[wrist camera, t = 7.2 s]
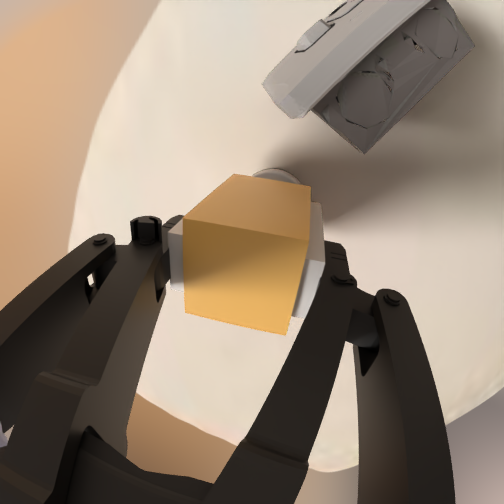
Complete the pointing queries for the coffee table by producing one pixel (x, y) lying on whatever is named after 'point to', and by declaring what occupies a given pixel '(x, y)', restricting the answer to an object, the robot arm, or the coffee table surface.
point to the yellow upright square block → (247, 252)
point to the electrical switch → (368, 65)
